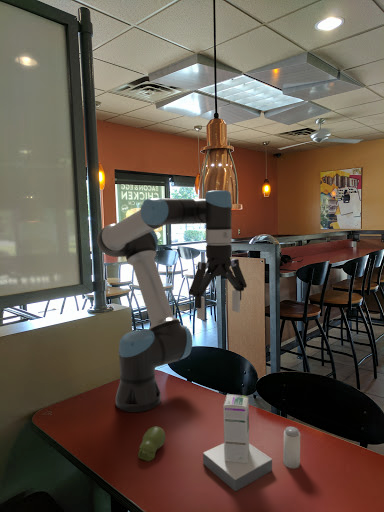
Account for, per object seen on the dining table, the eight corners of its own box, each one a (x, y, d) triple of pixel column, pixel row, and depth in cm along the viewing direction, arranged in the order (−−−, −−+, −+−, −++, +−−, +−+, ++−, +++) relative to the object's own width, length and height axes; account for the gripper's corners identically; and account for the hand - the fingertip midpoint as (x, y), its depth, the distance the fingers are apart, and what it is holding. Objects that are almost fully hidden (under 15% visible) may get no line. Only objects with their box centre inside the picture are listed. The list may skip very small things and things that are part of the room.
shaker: (280, 462, 96) (280, 429, 95) (290, 456, 98) (290, 423, 97) (292, 470, 92) (293, 436, 91) (303, 464, 95) (303, 431, 94)
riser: (203, 463, 95) (203, 452, 95) (238, 446, 102) (238, 436, 102) (235, 491, 86) (235, 479, 85) (272, 470, 92) (272, 458, 92)
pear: (168, 424, 103) (151, 451, 94) (169, 440, 105) (153, 468, 96) (149, 420, 105) (131, 446, 96) (151, 436, 107) (133, 463, 98)
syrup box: (248, 464, 90) (248, 406, 89) (223, 461, 91) (223, 404, 90) (249, 450, 96) (249, 395, 94) (226, 447, 97) (225, 393, 95)
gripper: (191, 247, 100) (192, 325, 103) (258, 242, 115) (258, 310, 117) (175, 245, 106) (177, 319, 109) (241, 241, 121) (241, 306, 123)
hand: (219, 315), depth 113 cm, fingers open, 13 cm apart
